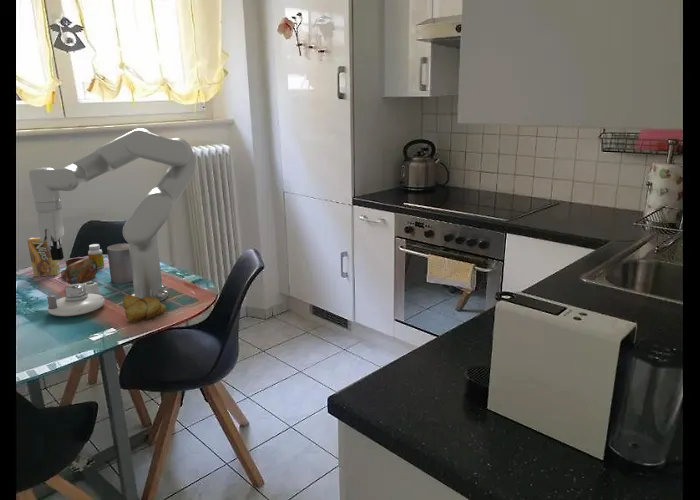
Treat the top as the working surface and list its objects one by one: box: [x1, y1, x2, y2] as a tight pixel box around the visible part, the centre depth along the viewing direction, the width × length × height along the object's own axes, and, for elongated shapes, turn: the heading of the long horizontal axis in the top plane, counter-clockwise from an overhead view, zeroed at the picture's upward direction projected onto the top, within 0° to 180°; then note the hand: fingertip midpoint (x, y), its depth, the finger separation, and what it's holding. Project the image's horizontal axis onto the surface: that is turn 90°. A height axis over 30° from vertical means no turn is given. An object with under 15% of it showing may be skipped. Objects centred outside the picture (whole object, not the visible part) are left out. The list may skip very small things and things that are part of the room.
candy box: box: [27, 236, 62, 277], centre depth 204 cm, size 9×4×15 cm, turn 103°
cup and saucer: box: [60, 257, 85, 278], centre depth 205 cm, size 12×12×6 cm
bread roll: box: [122, 294, 167, 324], centre depth 165 cm, size 13×10×8 cm
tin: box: [64, 257, 98, 285], centre depth 198 cm, size 15×3×8 cm, turn 167°
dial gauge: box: [83, 280, 100, 295], centre depth 186 cm, size 4×3×4 cm
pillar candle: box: [106, 242, 133, 285], centre depth 199 cm, size 10×10×15 cm
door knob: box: [64, 283, 88, 302], centre depth 175 cm, size 7×7×4 cm
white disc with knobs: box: [46, 293, 106, 317], centre depth 171 cm, size 17×17×6 cm
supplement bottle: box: [87, 243, 105, 270], centre depth 214 cm, size 5×5×10 cm
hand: (58, 259), depth 171 cm, fingers closed
